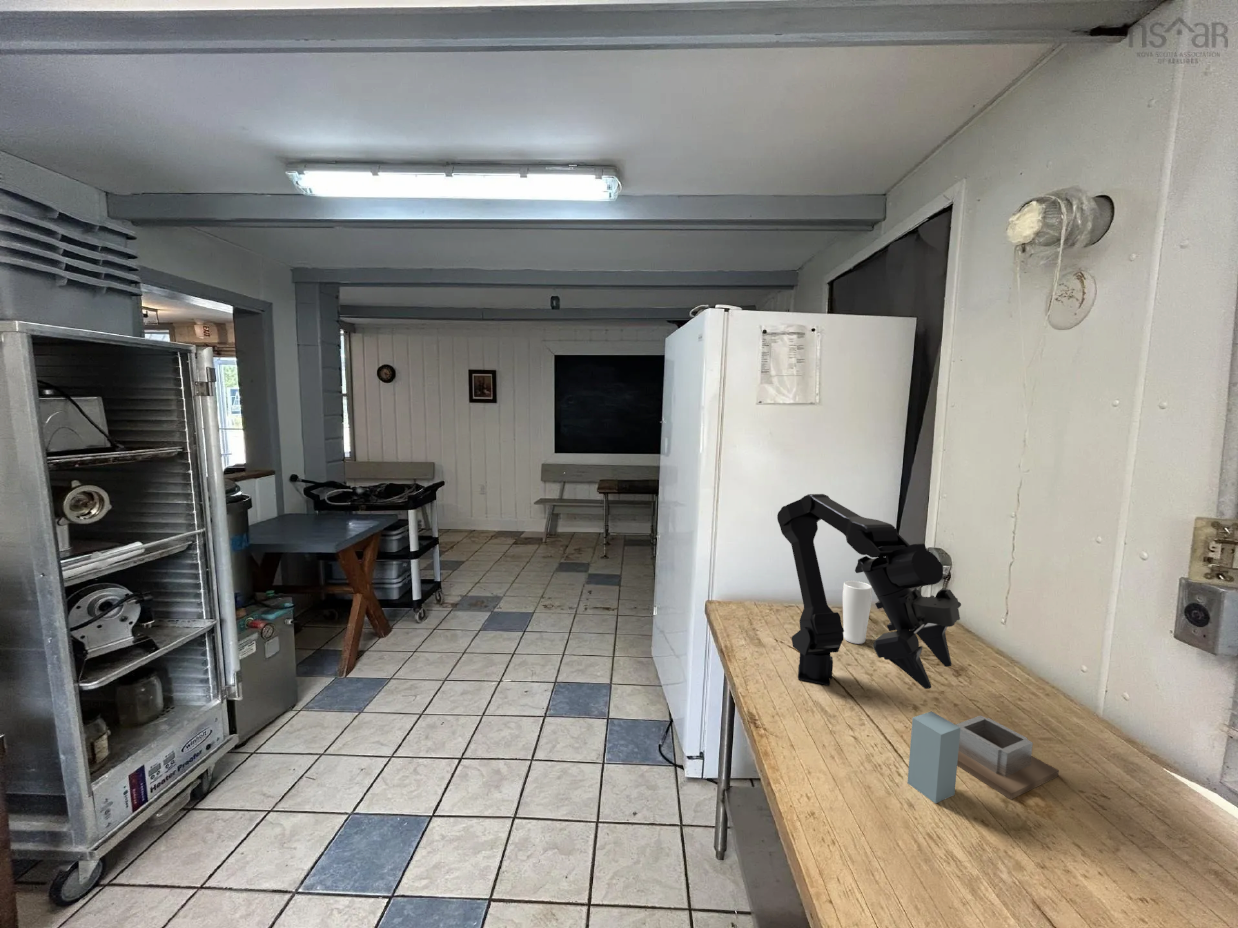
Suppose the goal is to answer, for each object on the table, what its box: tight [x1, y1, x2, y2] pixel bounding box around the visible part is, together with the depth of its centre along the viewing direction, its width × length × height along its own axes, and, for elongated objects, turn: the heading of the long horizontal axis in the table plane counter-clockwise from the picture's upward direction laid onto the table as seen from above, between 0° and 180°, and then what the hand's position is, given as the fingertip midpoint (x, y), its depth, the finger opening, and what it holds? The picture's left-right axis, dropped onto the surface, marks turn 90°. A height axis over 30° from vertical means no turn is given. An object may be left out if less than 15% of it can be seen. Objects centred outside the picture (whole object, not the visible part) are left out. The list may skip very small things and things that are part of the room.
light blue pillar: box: [907, 711, 960, 804], centre depth 76 cm, size 4×4×11 cm
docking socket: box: [955, 715, 1060, 800], centre depth 83 cm, size 13×13×5 cm
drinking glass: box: [842, 580, 873, 645], centre depth 128 cm, size 7×7×15 cm
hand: (938, 676), depth 85 cm, fingers open, 9 cm apart
